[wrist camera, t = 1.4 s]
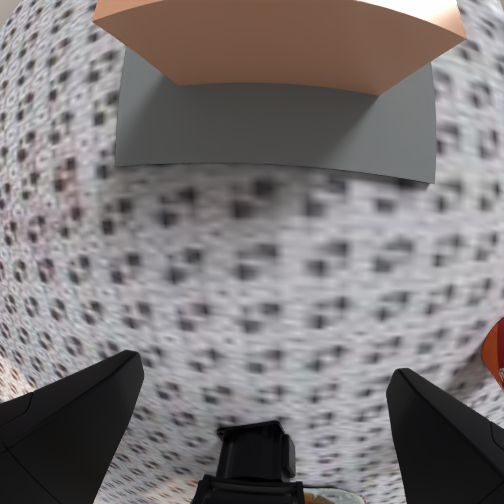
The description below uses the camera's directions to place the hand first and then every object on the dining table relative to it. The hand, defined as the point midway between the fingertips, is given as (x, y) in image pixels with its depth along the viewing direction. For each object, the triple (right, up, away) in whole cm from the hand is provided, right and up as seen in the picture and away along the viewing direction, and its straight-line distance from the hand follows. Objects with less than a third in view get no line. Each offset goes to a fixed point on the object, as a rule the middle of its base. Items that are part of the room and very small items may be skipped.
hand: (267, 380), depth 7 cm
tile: (+1, +15, +7) cm, 17 cm away
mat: (+2, +20, +7) cm, 22 cm away
